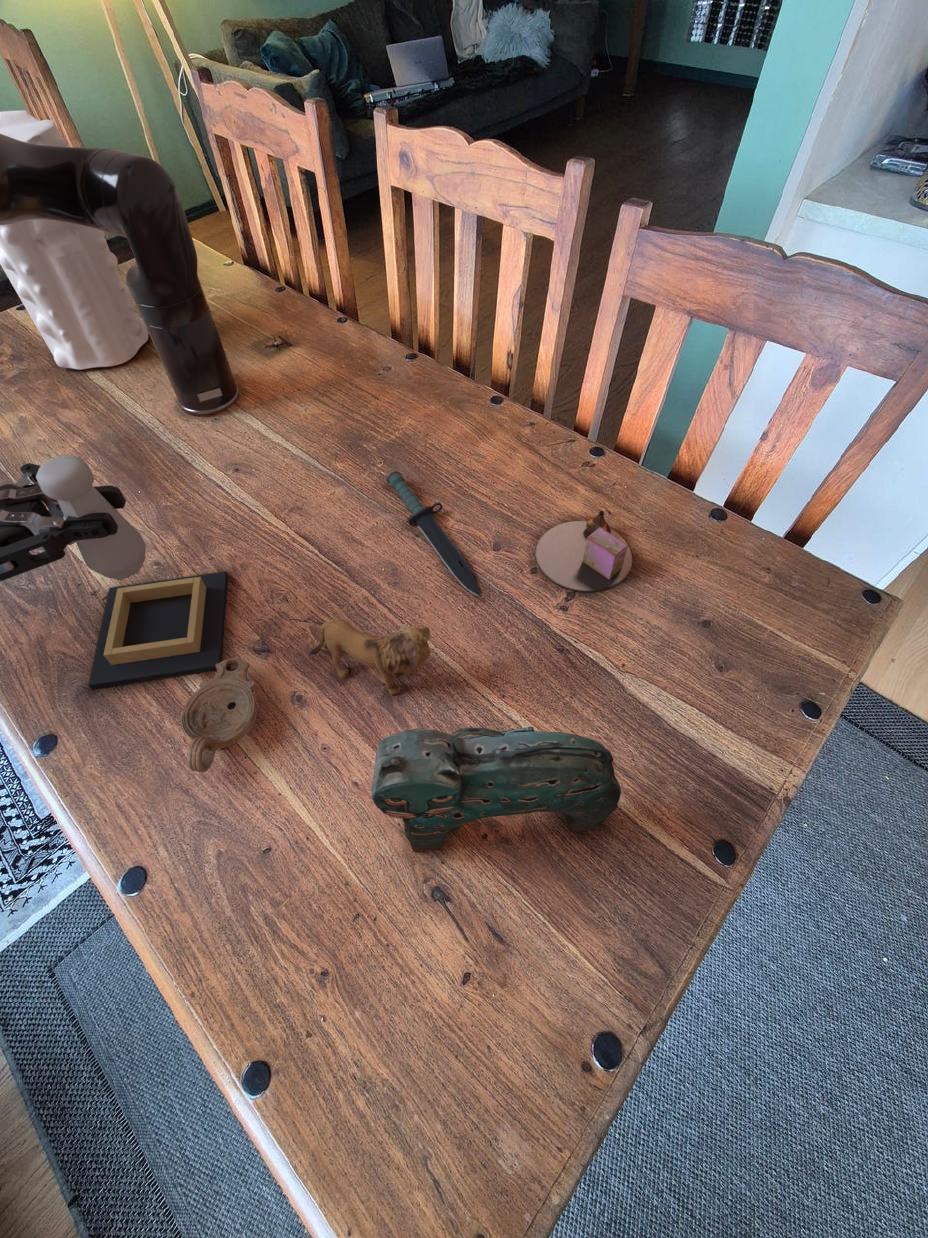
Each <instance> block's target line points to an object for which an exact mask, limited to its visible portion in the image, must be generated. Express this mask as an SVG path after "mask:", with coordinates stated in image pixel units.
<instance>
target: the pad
mask: <svg viewBox="0 0 928 1238" xmlns="http://www.w3.org/2000/svg"><path fill="white" fill-rule="evenodd" d="M229 577H230V576H229V574H228V573H227V571H226V570H225V571H217V572H211V573H210V572H209V573H203V574H197V575H190V576H184V577H183V576H182V577H176V578H175V577H174V578H168V579H162V580H161V579H160V580H154V581H148V582H139V583H132V584H125V585H119V586H112V587H109V588H108V592H107V597H106V600H105V601H106V602H105V605H104V610H103V615H102V620H101V624H100V629H99V633H98V637H97V638H98V639H97V642H96V647H95V651H94V656H93V659H92V660H93V661H92V666H91V670H90V674H89V678H88V683H87V686H88V687H89V688H90V689H91V690H93V691H94V690H100V689H105V688H106V689H107V688H114V687H121V686H127V685H131V684H138V683H139V684H140V683H145V682H152V681H160V680H166V679H172V678H179V677H184V676H192V675H199V674H204V673H211V672H217V668H216V666H215V665H216V664H218V663H220V662H222V661H223V657H224V645H225V644H224V643H225V630H226V617H227V605H228V604H227V602H228V591H229V590H228V589H229Z"/></svg>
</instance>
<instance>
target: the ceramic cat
mask: <svg viewBox="0 0 928 1238" xmlns="http://www.w3.org/2000/svg"><path fill="white" fill-rule="evenodd" d="M469 735H474V736H469ZM465 736H466V737H465ZM614 761H615V760H614V757H613V753H611V751H610V750H609V749H608V748H606V747H605V746H604V745H603V744H601V743H600V742H598V741H596V740H594V739H592V738H590V737H585V736H582V735H578V734H574V733H568V732H561V731H539V730H535V729H534V727H533V726H528V727H527V726H525V727H519V728H513V729H508V730H503V731H497V730H495V729H491V728H483V727H471V726H470V727H465V728H461V729H457V730H455V731H453V732H452V733H451V734H449V733H447V732H444V731H440V730H435V729H431V728H430V729H429V728H428V729H427V728H413V729H409V730H403V731H399V732H396V733H393V734H391V735H388V736H386V737H384V738H383V739H382V740H381V741H379V744H378V746H377V750H376V755H375V761H374V767H373V777H372V784H371V798H372V802H373V803H374V805H375V806H376V808H378V809H379V810H380V811H381V813H383V814H384V815H386V816H388V817H391V818H396V819H402V821H403V824H404V825H403V827H404V835H405V837H406V838H407V839H408V841H409V844H410V846H411V847H410V848H411V850H412V852H414V853H415V852H423V851H434V850H441V849H442V848H443V847H444V846H445V843H446V840H447V838H448V837H449V836H450V835H451V834H452V833H455V832H456V831H457V830H458V829H460V828H461V827H462V826H463V825H468V824H470V823H472V822H475V821H478V820H481V819H488V818H497V817H505V816H507V817H508V816H515V815H523V814H531V813H532V814H533V813H536V812H537V813H538V812H540V813H560V814H563V815H564V818H565V821H566V825H567V826H568V828H569V829H570V830H571V831H572V832H588V831H592V830H596V829H598V828H599V827H600V826H602V824H603V823H604V821H605V820H606V819H607V818H608V817H610V815H612V814H613V813H614V812H615V811H616V810H617V808H618V806H619V802H620V799H621V794H622V787H621V784H620V782H619V781H618V779H617V776H616V775H615V768H614V764H613V762H614Z"/></svg>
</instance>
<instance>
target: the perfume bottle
mask: <svg viewBox="0 0 928 1238" xmlns="http://www.w3.org/2000/svg"><path fill="white" fill-rule="evenodd" d="M534 556H535V557H534V558H535V561H536V565H537V567H538V568H539V571H540V572H541V573H542V575H544V577H545V578H547V579H548V581H550V582H551V583H552V584H555V585H556V586H558V587H560V588H562V589H565V590H568V591H571V592H576V593H584V594H585V593H586V594H587V593H588V594H591V593H593V594H594V593H600V592H604V591H608V590H610V589H613V588H614V587H616V586H618V585H620V584H621V583H622V582H623V581H624V580H625V579H626V578H627V577H628V575H629V574H630V573H631V572H630V571H631V569H632V566H633V555H632V551H631V549H630V547H629V544H628V543H627V542H626V540H625V539H624V538H623V537H622V536H621V535H620V534H619V533H618V532H616V531H615V530H613V529H611V526H609V524H608V522H607V521H606V519H605V512H604V511H603V510H599V512H598V514H597V515H595V516H593V517H591V518H589V519H588V520H587V521H585V520H575V521H574V520H573V521H568V522H567V521H566V522H563V523H560V524H557V525H555V526H553V527H551V528H550V529H548V530H547V531H546V532H545V533H544V534H543V535H541V537H540V538H539V540H538V542H537V544H536V546H535V552H534Z"/></svg>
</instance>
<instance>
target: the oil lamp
mask: <svg viewBox="0 0 928 1238" xmlns="http://www.w3.org/2000/svg"><path fill="white" fill-rule="evenodd" d="M215 666H216V668H217V671H216V673H215V674H214V676H213V677H212V678H210V679H209V680H202V681H201V682H200V683H199V688H198V689H197V690H196V691H195V692H193V694H191V695H190V696H189V698H188V699H187V700H186V702H185V704H184V705H183V708H182V710H181V713H180V723H181V727H182V731H183V733H184V734H185V735H186V736H187V737H188V738H189V739H190V740H192V742H191V744H190V745H189V747H188V753H187V764H188V769H189V770H190V771H192V772H196V773H205V772H207V771H208V770H209V769H210V768H211V766H212V764H213V762H214V758H215V754H216V752H217V751H218V750H219V749H224V748H228V747H230V746H233V745H235V744H237V743H239V742H240V741H242V740H243V739H244V738H245V737H246V736H247V735H249V733H250V731H251V730H252V729H253V727H254V725H255V721H256V719H257V713H258V703H257V699H256V696H255V691H256V685H255V682H254V681H253V680H249V679H248V672H249V669H250V666H251V663H250V662H247V661H246V660H243V659H242V658H239V657H229V658H227V659H224V660H222V662H220V663H218V664H216V665H215Z"/></svg>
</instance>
